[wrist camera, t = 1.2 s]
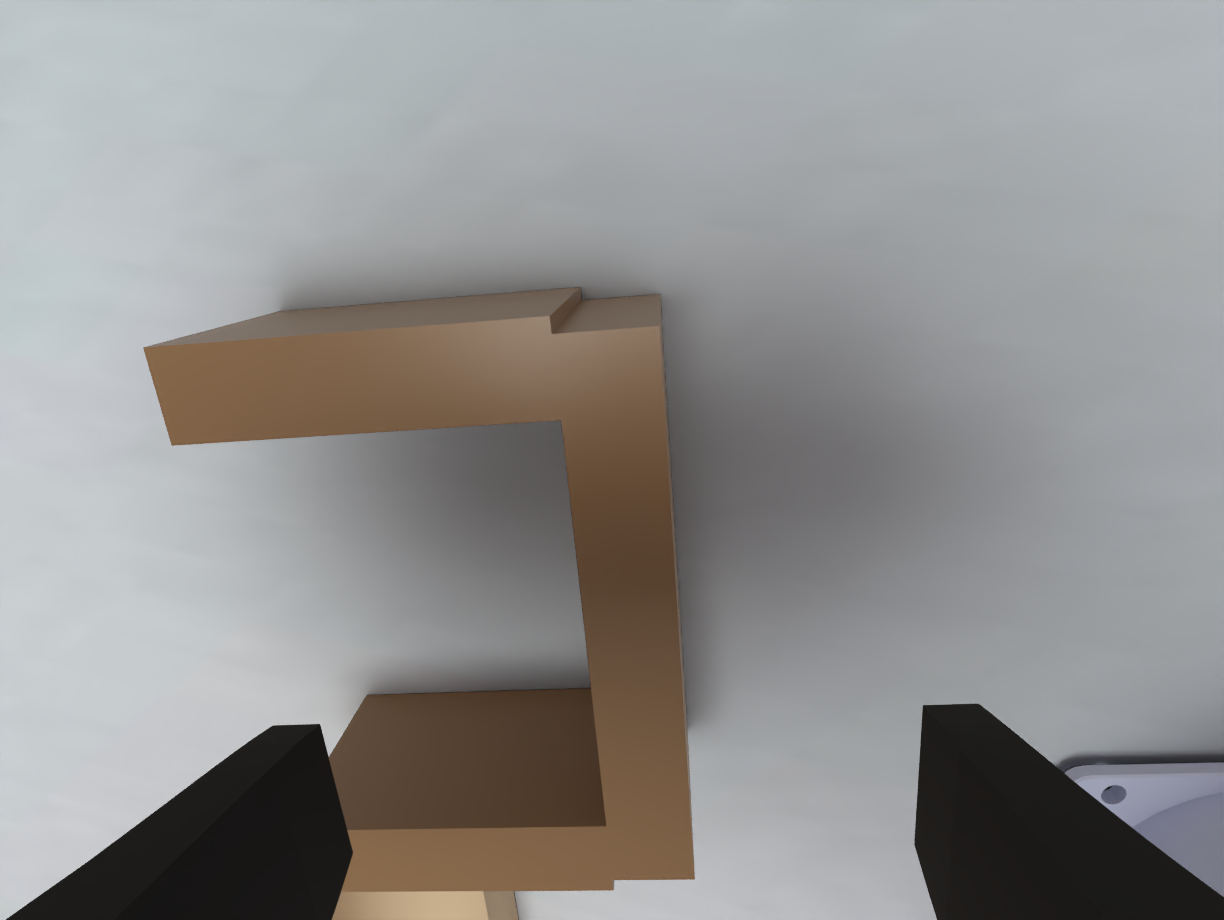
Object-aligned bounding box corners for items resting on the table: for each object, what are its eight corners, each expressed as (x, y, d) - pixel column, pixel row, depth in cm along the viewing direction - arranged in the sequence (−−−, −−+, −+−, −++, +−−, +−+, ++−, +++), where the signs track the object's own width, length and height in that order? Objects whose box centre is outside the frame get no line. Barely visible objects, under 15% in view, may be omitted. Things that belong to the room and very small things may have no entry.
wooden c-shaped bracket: (378, 747, 18) (301, 892, 14) (279, 311, 14) (143, 347, 11) (688, 739, 17) (695, 890, 13) (659, 280, 14) (658, 307, 10)
